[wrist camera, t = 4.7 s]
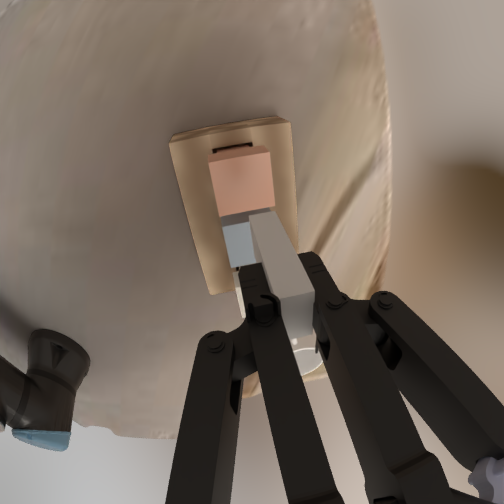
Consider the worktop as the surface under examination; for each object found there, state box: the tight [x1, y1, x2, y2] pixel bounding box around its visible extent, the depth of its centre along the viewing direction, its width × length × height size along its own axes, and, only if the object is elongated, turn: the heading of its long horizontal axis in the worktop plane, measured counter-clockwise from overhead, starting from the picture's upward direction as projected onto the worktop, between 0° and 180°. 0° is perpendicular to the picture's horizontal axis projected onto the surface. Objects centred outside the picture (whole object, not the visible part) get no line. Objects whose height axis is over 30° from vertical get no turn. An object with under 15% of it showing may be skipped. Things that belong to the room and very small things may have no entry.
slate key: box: [221, 207, 271, 268], centre depth 29 cm, size 5×5×7 cm
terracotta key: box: [208, 144, 275, 217], centre depth 25 cm, size 5×5×7 cm
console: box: [169, 116, 299, 295], centre depth 32 cm, size 12×20×5 cm, turn 7°
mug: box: [290, 328, 323, 376], centre depth 41 cm, size 12×8×12 cm
